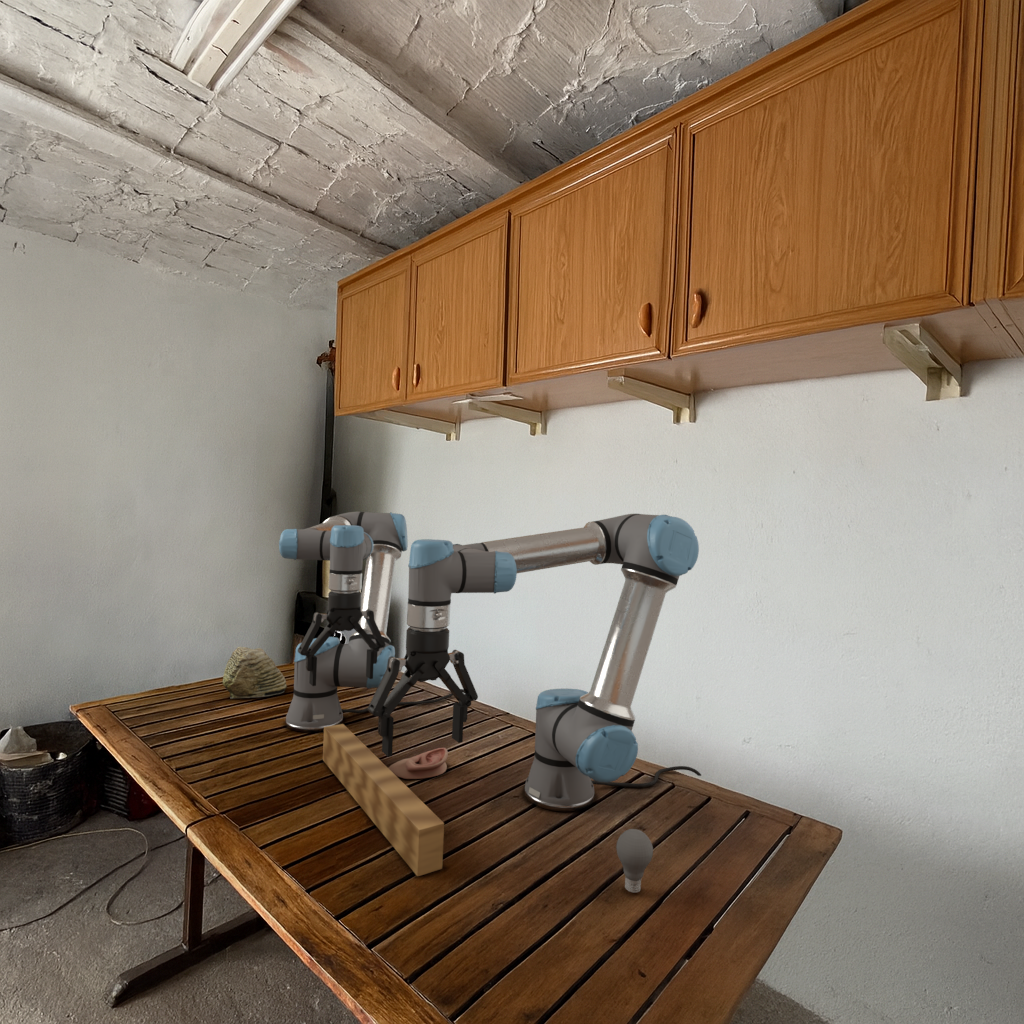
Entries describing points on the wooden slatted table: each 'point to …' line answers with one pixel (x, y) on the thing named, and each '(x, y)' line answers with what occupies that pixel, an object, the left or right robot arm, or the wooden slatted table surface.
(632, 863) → the light bulb
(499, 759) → the wooden slatted table surface
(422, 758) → the anatomical model
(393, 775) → the bar
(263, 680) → the fossil
